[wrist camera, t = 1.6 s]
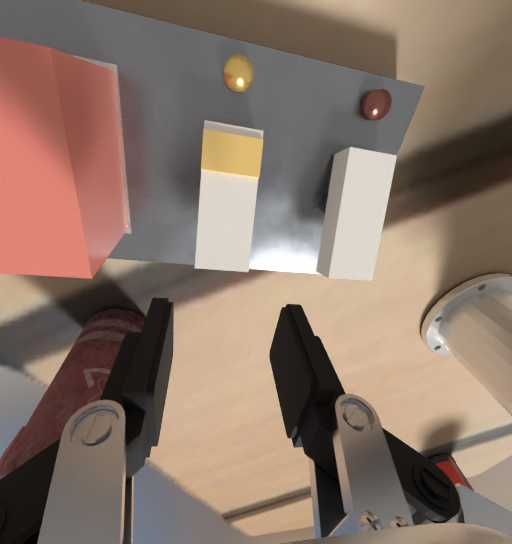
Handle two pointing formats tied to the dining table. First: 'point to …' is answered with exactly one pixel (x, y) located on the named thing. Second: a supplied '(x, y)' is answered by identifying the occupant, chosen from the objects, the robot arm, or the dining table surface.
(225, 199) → the block
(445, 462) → the speaker
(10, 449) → the can
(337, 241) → the block
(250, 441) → the dining table surface
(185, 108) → the panel
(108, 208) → the cap
